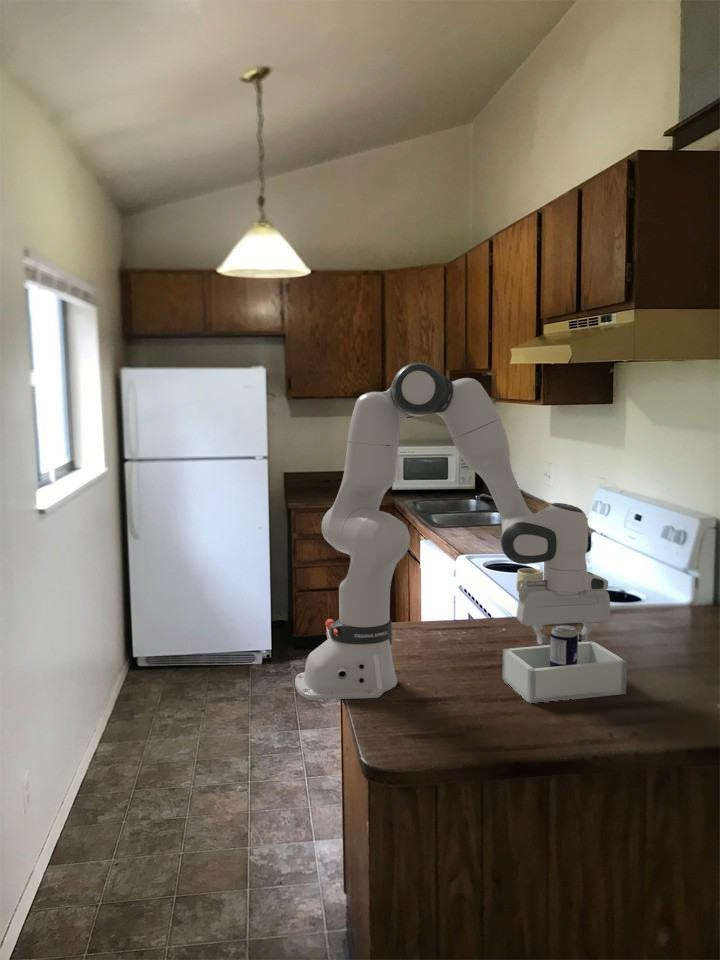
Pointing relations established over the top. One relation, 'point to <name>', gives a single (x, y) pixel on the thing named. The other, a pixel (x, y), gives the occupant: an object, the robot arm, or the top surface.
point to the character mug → (528, 576)
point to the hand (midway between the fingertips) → (562, 642)
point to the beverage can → (563, 646)
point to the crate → (564, 673)
